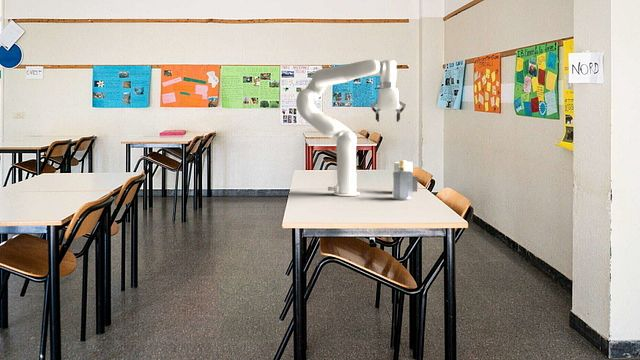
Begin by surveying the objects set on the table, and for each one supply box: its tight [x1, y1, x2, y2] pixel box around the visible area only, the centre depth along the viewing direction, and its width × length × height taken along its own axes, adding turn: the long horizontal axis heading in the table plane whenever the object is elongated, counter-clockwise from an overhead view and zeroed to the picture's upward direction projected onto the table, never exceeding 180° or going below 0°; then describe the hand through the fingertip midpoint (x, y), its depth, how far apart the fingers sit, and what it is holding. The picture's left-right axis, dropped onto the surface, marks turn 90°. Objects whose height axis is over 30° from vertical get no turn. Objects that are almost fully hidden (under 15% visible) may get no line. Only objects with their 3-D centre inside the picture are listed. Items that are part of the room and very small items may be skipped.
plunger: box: [398, 160, 408, 172], centre depth 298 cm, size 6×6×16 cm
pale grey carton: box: [392, 170, 419, 201], centre depth 299 cm, size 12×9×13 cm
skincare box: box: [393, 161, 413, 172], centre depth 318 cm, size 8×7×16 cm
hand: (387, 121), depth 307 cm, fingers open, 9 cm apart
